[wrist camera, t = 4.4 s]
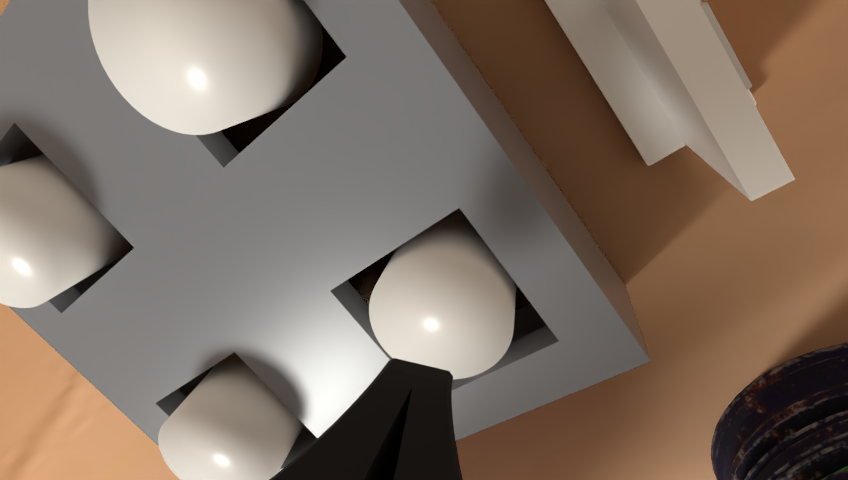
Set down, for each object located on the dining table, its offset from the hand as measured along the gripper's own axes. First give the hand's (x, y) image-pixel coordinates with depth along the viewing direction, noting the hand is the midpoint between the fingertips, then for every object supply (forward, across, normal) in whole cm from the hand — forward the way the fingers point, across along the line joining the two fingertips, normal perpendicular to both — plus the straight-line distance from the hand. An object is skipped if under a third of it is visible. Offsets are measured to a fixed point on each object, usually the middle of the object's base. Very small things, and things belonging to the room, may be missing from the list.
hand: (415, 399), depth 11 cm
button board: (+7, +6, 0) cm, 10 cm away
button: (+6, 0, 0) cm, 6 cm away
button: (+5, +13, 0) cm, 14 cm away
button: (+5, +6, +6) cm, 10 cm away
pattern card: (+7, -2, -9) cm, 12 cm away
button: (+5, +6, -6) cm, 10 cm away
